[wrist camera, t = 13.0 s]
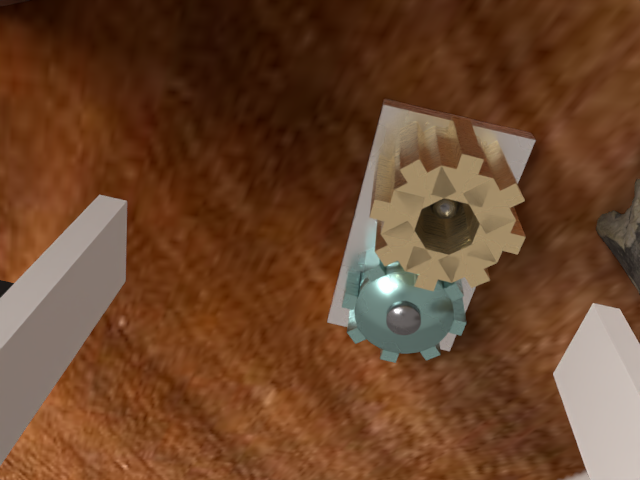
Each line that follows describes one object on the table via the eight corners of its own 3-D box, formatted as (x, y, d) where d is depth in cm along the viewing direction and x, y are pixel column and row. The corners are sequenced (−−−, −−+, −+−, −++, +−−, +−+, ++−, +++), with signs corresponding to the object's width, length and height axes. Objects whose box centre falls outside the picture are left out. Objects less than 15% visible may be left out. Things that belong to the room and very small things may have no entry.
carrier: (329, 311, 47) (319, 364, 42) (384, 98, 38) (381, 129, 33) (448, 339, 47) (454, 396, 41) (531, 132, 38) (553, 169, 33)
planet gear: (350, 157, 39) (341, 200, 33) (470, 90, 36) (485, 124, 30) (413, 255, 42) (415, 312, 36) (529, 201, 39) (552, 253, 33)
